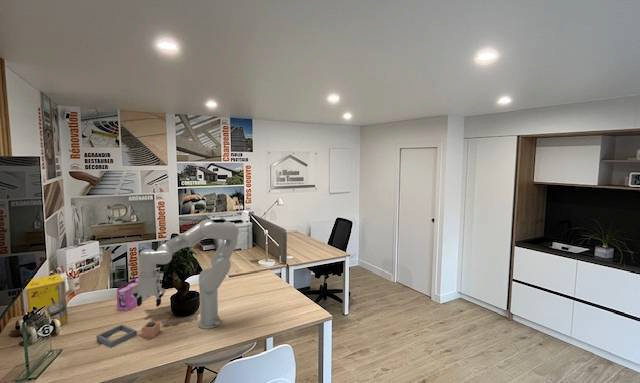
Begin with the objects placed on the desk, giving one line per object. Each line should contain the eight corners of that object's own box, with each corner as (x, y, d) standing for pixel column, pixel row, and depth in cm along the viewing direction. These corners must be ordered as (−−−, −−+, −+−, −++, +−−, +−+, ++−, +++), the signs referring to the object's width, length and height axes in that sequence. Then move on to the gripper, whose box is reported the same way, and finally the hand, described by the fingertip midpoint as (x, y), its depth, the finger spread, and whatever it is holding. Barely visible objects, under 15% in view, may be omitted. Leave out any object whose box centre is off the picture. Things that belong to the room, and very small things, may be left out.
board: (164, 334, 178) (163, 321, 177) (148, 342, 170) (148, 329, 169) (153, 329, 182) (153, 317, 182) (138, 337, 174) (137, 324, 174)
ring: (161, 329, 181) (161, 320, 180) (154, 337, 173) (154, 328, 172) (149, 329, 181) (149, 320, 180) (142, 337, 173) (141, 328, 172)
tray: (136, 336, 175) (136, 330, 175) (111, 349, 164) (110, 342, 163) (122, 330, 181) (121, 324, 181) (96, 342, 170) (96, 335, 170)
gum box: (127, 312, 202) (126, 290, 201) (115, 311, 203) (114, 290, 202) (151, 295, 226) (150, 276, 225) (139, 295, 227) (138, 276, 225)
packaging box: (68, 323, 188) (65, 281, 185) (30, 335, 176) (26, 289, 173) (61, 314, 199) (58, 273, 196) (25, 324, 187) (21, 281, 184)
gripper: (168, 271, 176) (168, 302, 178) (135, 271, 176) (136, 302, 178) (161, 276, 169) (162, 308, 171) (127, 276, 169) (128, 308, 170)
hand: (149, 305), depth 174 cm, fingers open, 9 cm apart
